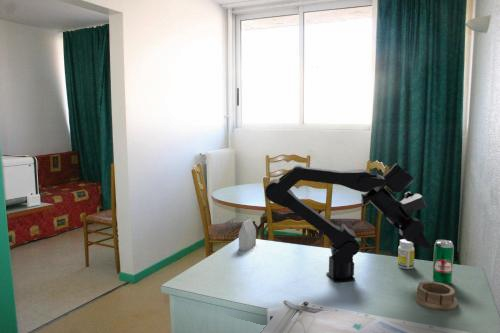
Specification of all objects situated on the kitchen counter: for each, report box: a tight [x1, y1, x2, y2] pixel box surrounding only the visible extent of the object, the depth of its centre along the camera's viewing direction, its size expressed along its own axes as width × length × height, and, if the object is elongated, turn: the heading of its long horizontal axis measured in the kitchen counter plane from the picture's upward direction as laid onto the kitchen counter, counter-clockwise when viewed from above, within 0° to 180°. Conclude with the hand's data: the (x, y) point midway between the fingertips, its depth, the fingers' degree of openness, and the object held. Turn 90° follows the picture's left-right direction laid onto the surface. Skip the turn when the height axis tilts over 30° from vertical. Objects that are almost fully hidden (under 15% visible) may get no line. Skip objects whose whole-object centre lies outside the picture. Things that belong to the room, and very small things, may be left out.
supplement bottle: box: [397, 238, 415, 270], centre depth 128 cm, size 5×5×8 cm
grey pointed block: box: [238, 218, 257, 251], centre depth 148 cm, size 4×7×10 cm, turn 154°
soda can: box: [432, 239, 455, 286], centre depth 116 cm, size 5×5×12 cm
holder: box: [414, 280, 458, 311], centre depth 105 cm, size 10×10×4 cm
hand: (425, 242), depth 116 cm, fingers open, 9 cm apart
